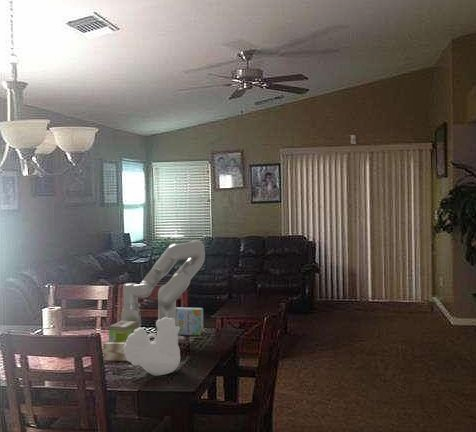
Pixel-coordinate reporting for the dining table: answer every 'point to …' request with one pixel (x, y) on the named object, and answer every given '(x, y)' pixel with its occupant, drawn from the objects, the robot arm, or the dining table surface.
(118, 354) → the maple board
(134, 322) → the tea box
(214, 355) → the dining table surface
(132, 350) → the decorative rooster
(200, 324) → the snack box
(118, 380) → the dining table surface
